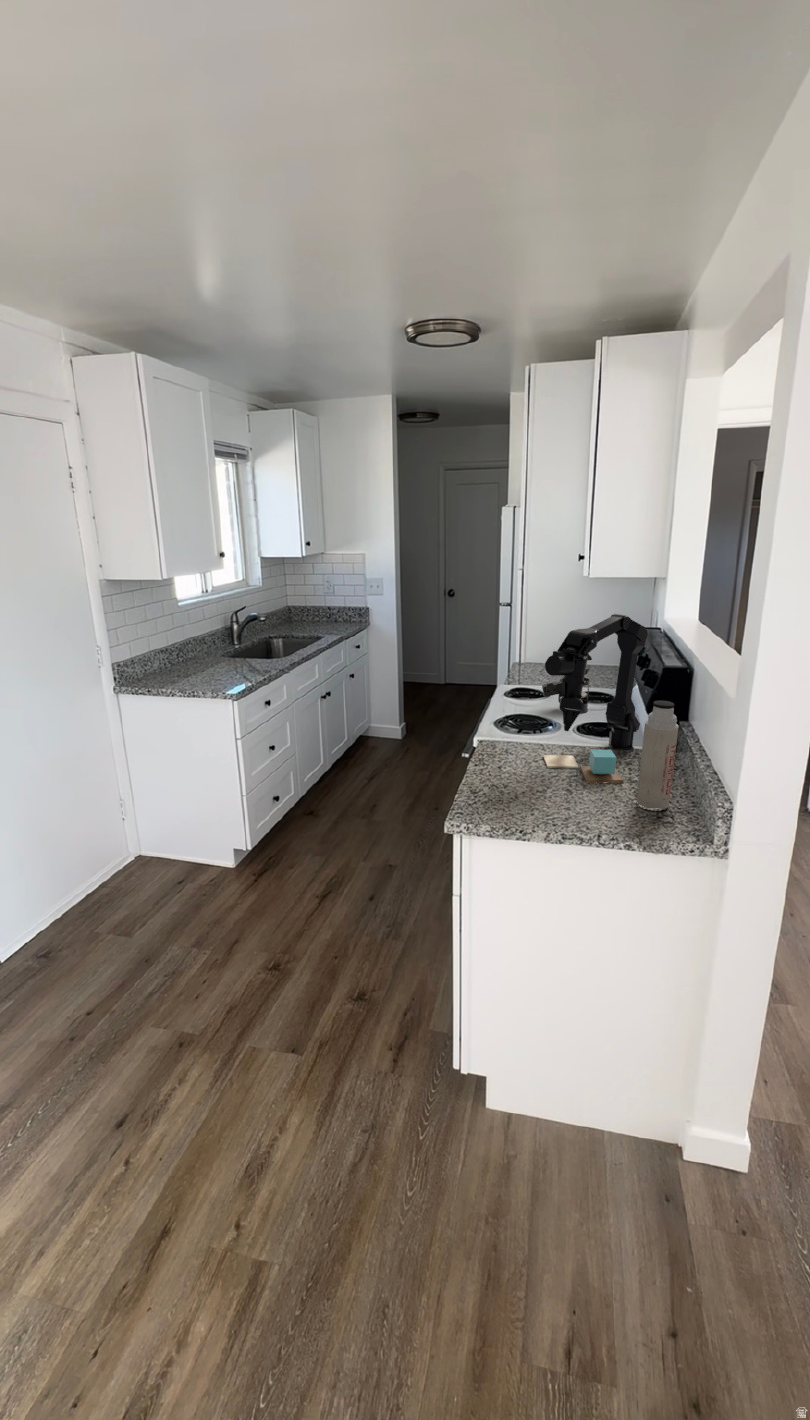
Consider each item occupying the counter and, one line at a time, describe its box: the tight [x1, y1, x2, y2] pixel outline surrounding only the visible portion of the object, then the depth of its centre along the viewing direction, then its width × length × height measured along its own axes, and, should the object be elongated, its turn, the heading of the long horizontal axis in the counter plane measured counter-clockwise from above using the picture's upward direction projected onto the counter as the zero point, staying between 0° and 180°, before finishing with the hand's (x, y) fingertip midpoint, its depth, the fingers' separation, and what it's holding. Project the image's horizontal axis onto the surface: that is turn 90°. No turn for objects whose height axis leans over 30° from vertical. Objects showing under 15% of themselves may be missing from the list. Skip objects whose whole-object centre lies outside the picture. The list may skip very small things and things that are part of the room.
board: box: [542, 754, 579, 769], centre depth 203 cm, size 9×9×1 cm
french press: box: [557, 664, 591, 715], centre depth 250 cm, size 12×9×23 cm
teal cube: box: [588, 749, 617, 774], centre depth 192 cm, size 6×6×5 cm
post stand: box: [579, 765, 624, 784], centre depth 192 cm, size 10×10×6 cm
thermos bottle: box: [636, 700, 680, 808], centre depth 170 cm, size 8×8×28 cm
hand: (565, 727), depth 196 cm, fingers open, 9 cm apart
